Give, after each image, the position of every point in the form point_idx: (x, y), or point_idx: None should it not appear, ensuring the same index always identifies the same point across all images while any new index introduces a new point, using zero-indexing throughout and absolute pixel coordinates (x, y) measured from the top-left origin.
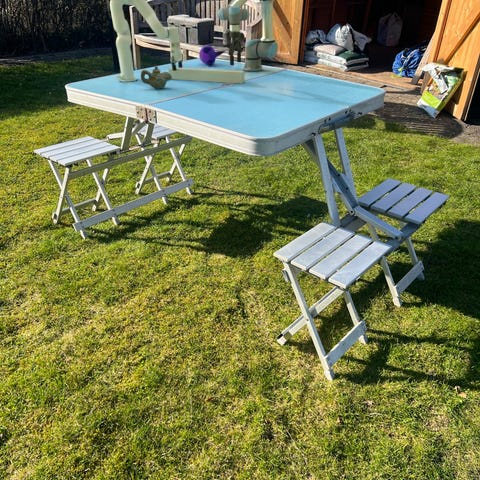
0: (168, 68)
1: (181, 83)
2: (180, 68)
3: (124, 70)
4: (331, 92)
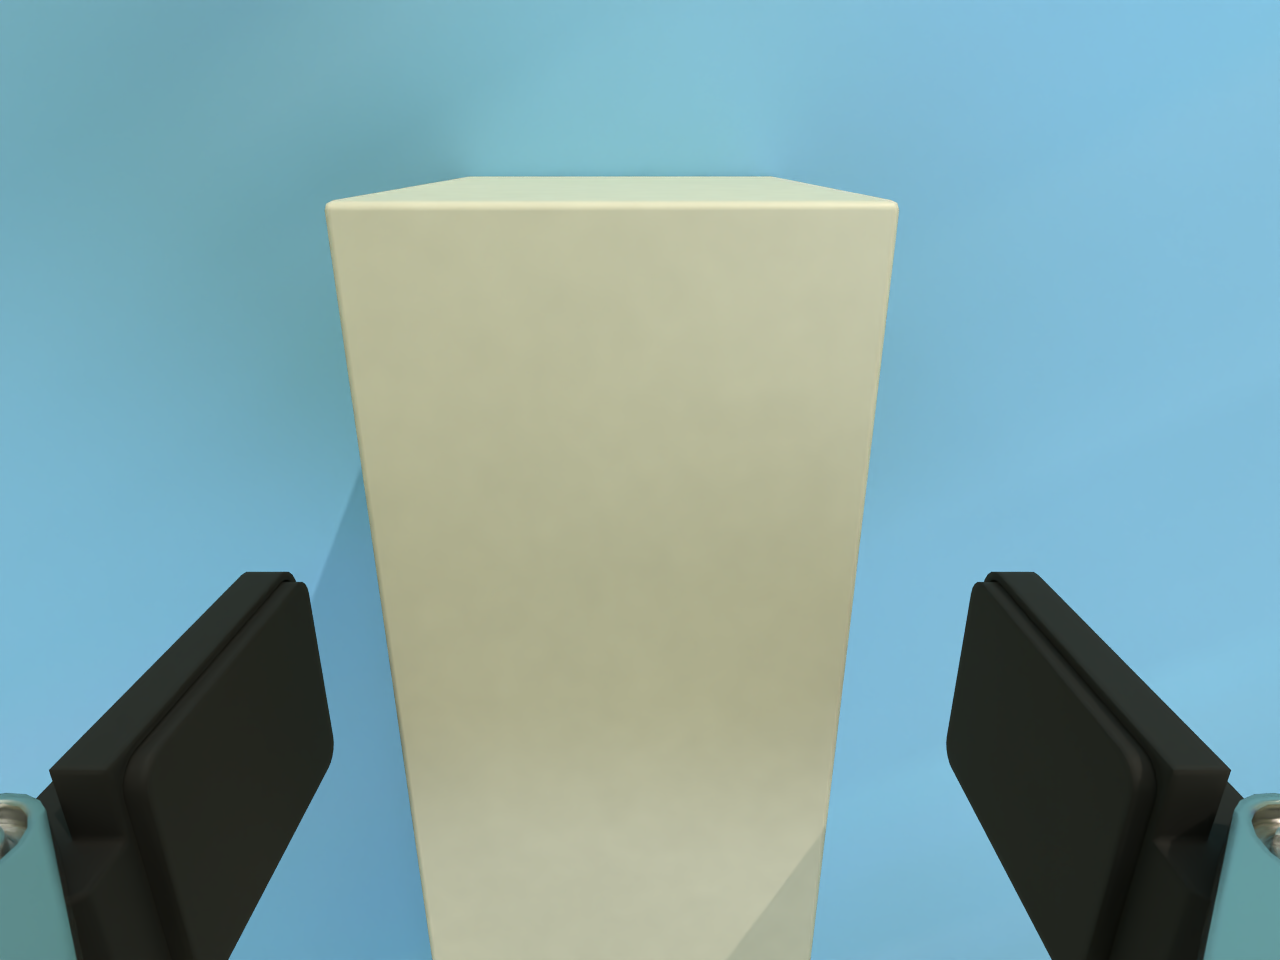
0: (340, 214)
1: None
2: (602, 862)
3: None
4: None
